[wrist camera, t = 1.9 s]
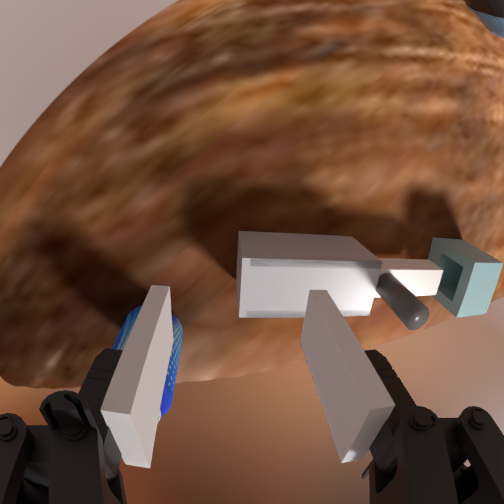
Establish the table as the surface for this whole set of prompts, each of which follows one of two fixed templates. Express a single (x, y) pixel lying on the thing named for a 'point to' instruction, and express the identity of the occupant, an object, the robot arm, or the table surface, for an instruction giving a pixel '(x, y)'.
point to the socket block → (464, 276)
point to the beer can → (173, 360)
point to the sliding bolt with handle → (408, 287)
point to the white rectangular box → (303, 273)
